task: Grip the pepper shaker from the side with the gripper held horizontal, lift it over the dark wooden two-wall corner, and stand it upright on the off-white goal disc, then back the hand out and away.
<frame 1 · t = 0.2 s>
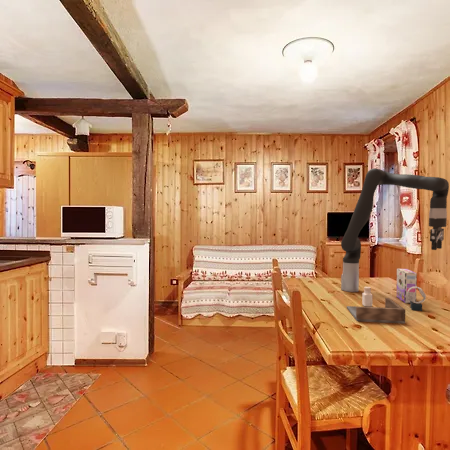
hand: (436, 249, 162), 29 cm above the table, tool pointing down, fingers open, 8 cm apart
pepper shaker: (367, 306, 163), on the table
corner arena: (375, 314, 148), on the table
watch: (416, 309, 157), on the table
candy box: (405, 300, 173), on the table
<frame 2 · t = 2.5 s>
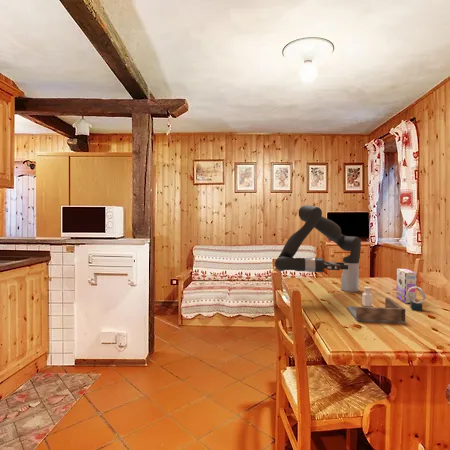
hand: (346, 265, 164), 20 cm above the table, tool horizontal, fingers open, 8 cm apart
nothing on the table moved.
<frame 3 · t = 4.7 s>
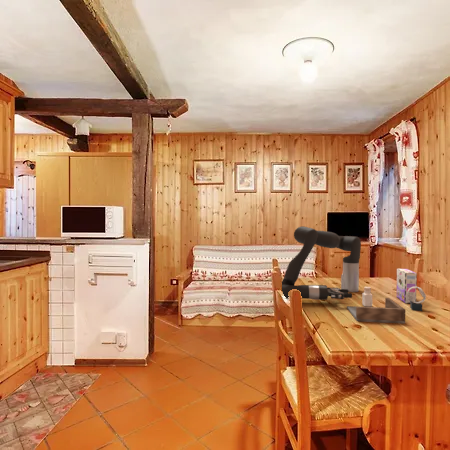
hand: (350, 293, 164), 6 cm above the table, tool horizontal, fingers open, 8 cm apart
nothing on the table moved.
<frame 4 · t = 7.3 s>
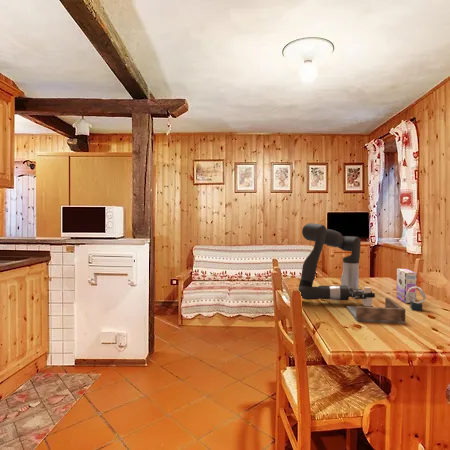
hand: (373, 294, 162), 6 cm above the table, tool horizontal, fingers closed on pepper shaker, 4 cm apart
pepper shaker: (367, 306, 163), on the table, touching gripper
everything else where it was.
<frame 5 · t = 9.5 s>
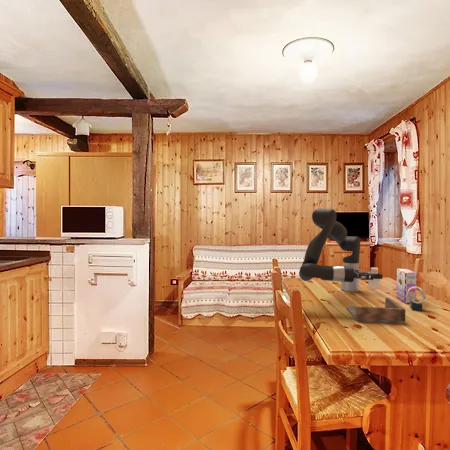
hand: (380, 275, 149), 18 cm above the table, tool horizontal, fingers closed on pepper shaker, 4 cm apart
pepper shaker: (373, 288, 150), point 12 cm above the table, touching gripper
everything else where it was.
when the fingers open (8 cm above the table, at t = 11.9 s): pepper shaker stays where it is, resting on corner arena.
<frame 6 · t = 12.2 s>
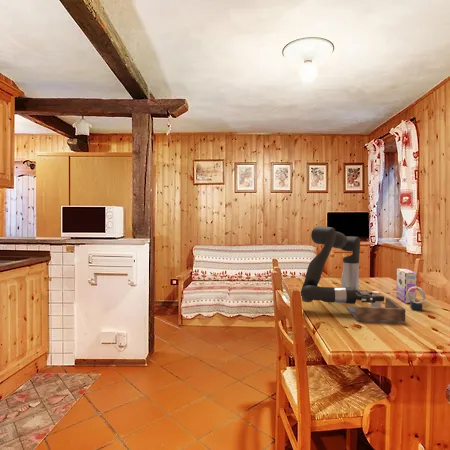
hand: (381, 296, 147), 8 cm above the table, tool horizontal, fingers open, 6 cm apart
pepper shaker: (375, 312, 148), point 1 cm above the table, touching corner arena
everything else where it was.
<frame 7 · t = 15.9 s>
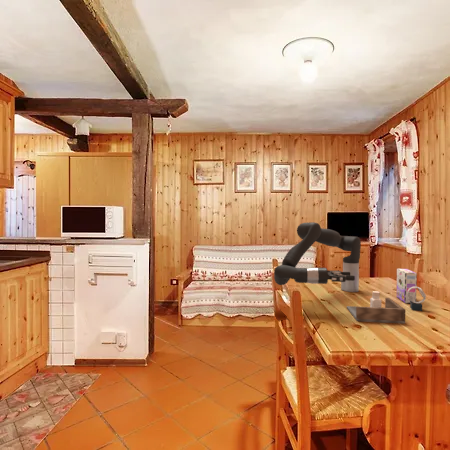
hand: (352, 276, 149), 18 cm above the table, tool horizontal, fingers open, 8 cm apart
nothing on the table moved.
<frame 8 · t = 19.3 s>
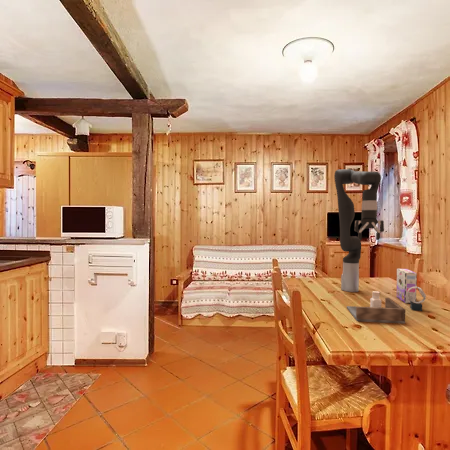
hand: (368, 239, 169), 33 cm above the table, tool pointing down, fingers open, 8 cm apart
nothing on the table moved.
at the end: pepper shaker inside the target area on the corner arena (0.2 cm from its centre), point 1.0 cm above the corner arena's base; pepper shaker tilted 0°; the gripper is holding nothing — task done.
